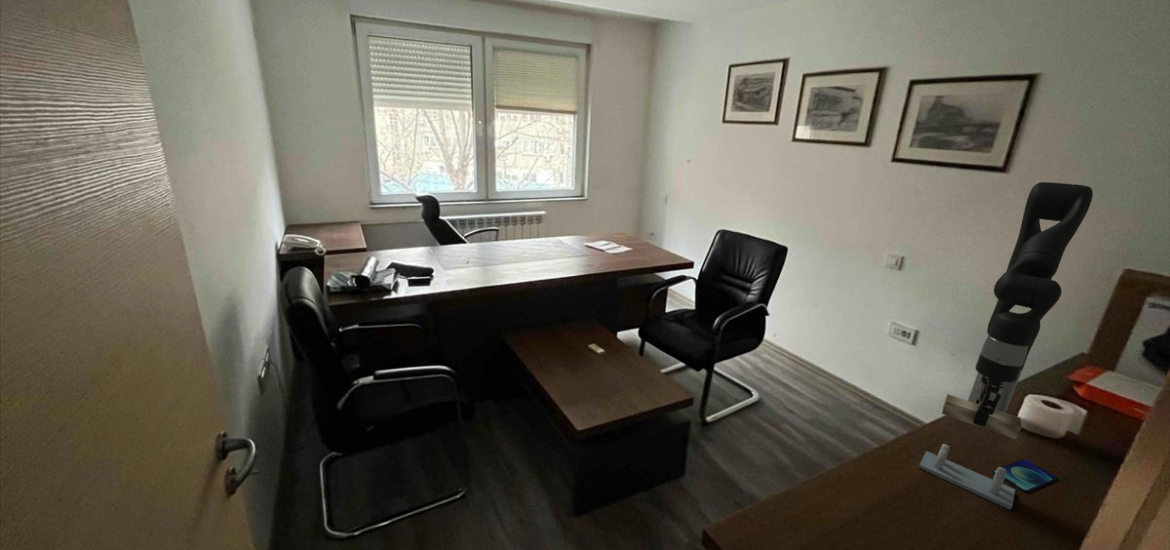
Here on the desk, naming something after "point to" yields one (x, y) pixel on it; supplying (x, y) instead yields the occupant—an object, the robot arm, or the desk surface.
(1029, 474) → the smartphone
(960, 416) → the birch plank
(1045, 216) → the robot arm
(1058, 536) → the desk surface
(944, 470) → the peg rack
